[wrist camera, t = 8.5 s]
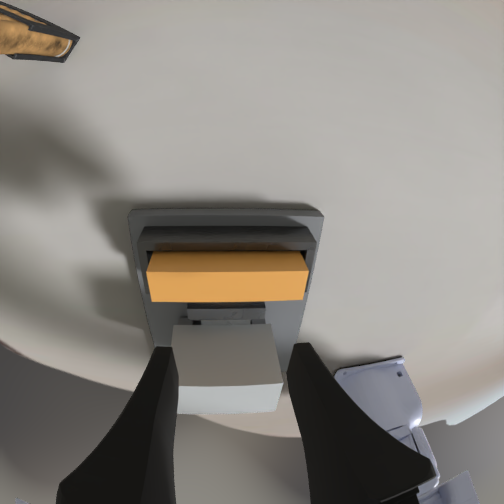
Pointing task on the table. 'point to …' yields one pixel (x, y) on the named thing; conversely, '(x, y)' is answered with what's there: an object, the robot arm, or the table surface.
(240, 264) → the locking tab
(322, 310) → the table surface
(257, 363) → the block
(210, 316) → the gray slotted fixture
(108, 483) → the robot arm
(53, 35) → the ammunition clip
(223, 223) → the mounting board
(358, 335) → the table surface
